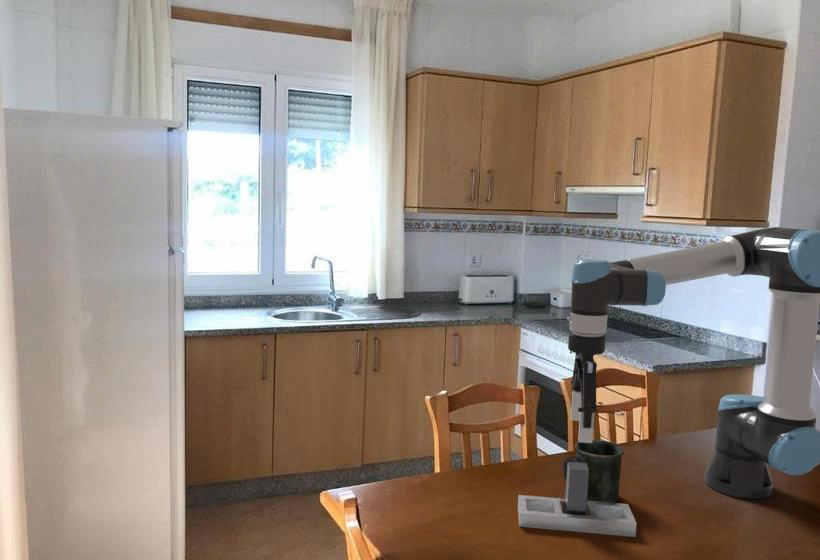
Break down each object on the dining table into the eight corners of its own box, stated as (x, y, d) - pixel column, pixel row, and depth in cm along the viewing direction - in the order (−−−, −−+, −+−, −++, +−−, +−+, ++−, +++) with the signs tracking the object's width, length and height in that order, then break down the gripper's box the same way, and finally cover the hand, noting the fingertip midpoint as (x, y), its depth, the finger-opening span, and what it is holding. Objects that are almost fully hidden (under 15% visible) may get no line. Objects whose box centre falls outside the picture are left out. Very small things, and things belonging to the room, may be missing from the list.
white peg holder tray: (627, 517, 151) (628, 504, 150) (635, 537, 142) (636, 523, 142) (517, 507, 153) (518, 494, 153) (519, 526, 145) (520, 513, 144)
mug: (629, 504, 157) (633, 454, 156) (572, 509, 153) (575, 458, 152) (605, 484, 167) (608, 438, 166) (550, 489, 164) (553, 441, 162)
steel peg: (582, 515, 149) (586, 463, 148) (585, 524, 145) (589, 470, 144) (564, 513, 150) (567, 461, 148) (566, 522, 146) (569, 469, 144)
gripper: (562, 321, 155) (557, 411, 158) (576, 344, 131) (569, 450, 133) (596, 323, 154) (590, 413, 157) (616, 347, 130) (608, 453, 132)
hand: (580, 430), depth 145 cm, fingers open, 13 cm apart
